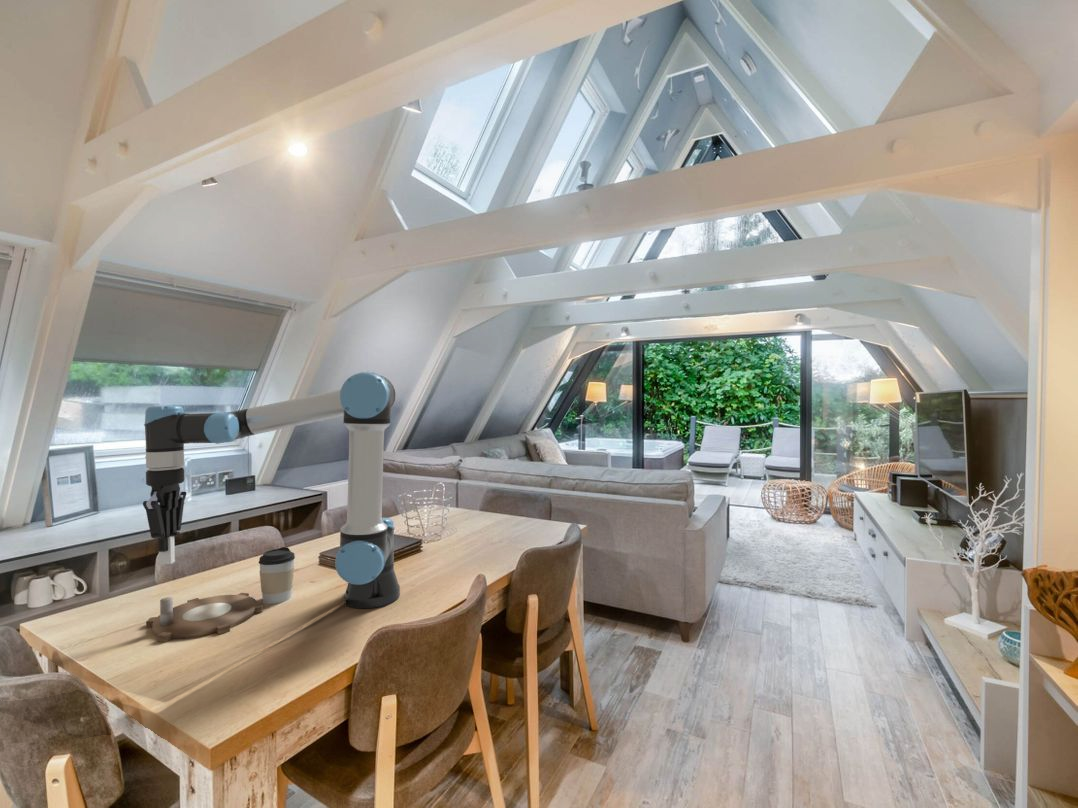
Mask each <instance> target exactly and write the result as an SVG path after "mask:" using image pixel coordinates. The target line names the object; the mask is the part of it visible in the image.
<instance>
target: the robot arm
mask: <svg viewBox="0 0 1078 808" xmlns="http://www.w3.org/2000/svg"><path fill="white" fill-rule="evenodd" d="M340 388H341V389H336V390H332V391H327V392H322V393H316V394H313V395H307V396H304V397H298V398H293V399H288V400H284V401H279V402H273V403H269V404H263V405H260V406H255V407H249V408H244V409H238V410H234V411H227V412H211V413H210V412H205V413H204V412H202V413H185V411H184V407H183V406H181V405H159V406H158V405H157V406H155V405H154V406H153V405H151V406H148V407H147V408H146V409H145V416H144V424H143V426H144V435H145V436H144V437H145V468H147V469H148V470H146V471H145V485H147V486H148V487H151V491H150V498H149V500H144V501H143V502H142V505H143V506H142V507H143V508H144V509H145V511H146V516H147V517H146V518H147V523H148V528H149V533H150V537H151V538H152V539H155V540H158V565H172V564H174V563H175V561H176V558H175V557H176V552H175V551H176V549H175V546H176V545H175V543H176V542H175V536H179V535H180V534H181V533H180V532H181V529H182V522H183V521H182V520H183V515H184V507H185V500H186V497H187V495H188V493H187V491H182V490H181V487H180V484H182V483H184V482H185V468H184V467H183V466H184V465H185V452H184V451H185V445H186V444H216V445H217V444H224V443H226V444H227V443H232V442H234V441H235V440H240V439H244V438H246V437H250V436H255V435H259V434H263V433H264V434H265V433H268V432H273V431H279V430H283V429H289V428H292V427H296V426H301V425H307V424H311V423H316V422H320V421H326V420H330V419H334V418H341V417H343V422H342V423H343V425H344V426H345V427H346V428H347V429H348V431H349V433H348V434H349V435H348V436H349V437H348V438H349V439H348V472H347V473H348V474H347V505H346V506H347V507H346V508H347V509H346V511H347V512H346V523H344V524H343V526H341V527H340V530H339V531H340V534H339V537H340V538H339V549H338V551H337V554H336V557H335V560H334V562H335V563H334V567H335V570H336V573H337V574H338V576H339V577H340V578H341V579H342V580H343V581H344V582H345V583H347V586H346V590H345V592H344V599H345V600H344V603H345V604H346V606H348V607H351V608H354V609H373V608H379V607H383V606H387V605H388V604H389V605H390V604H391V603H393V602H396V601H397V600H398V599H399V598H400V596H401V588H400V584H399V582H398V578H397V575H396V571H395V567H394V566H395V564H394V562H395V557H394V555H395V543H394V541H395V540H394V538H395V535H394V533H395V531H394V530H395V525H394V522H395V521H394V520H393V519H392V518H391V517H382V516H383V513H382V512H383V482H384V446H385V444H384V443H385V430H386V429H387V428H388V427H389V426H390V425H391V412H392V407H393V405H394V403H395V401H396V397H397V396H396V395H397V394H396V389H395V386H394V385H393V384H392V382H391V381H390V380H389V379H388V378H386V377H385V376H383V375H380V374H378V373H375V372H370V371H367V372H366V371H365V372H363V371H361V372H358V373H355V374H353V375H351V376H350V377H348V378H347V379H345V381H344V382H343V384H342V386H341V387H340Z"/></svg>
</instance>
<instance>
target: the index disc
mask: <svg viewBox="0 0 1078 808" xmlns="http://www.w3.org/2000/svg"><path fill="white" fill-rule="evenodd" d="M173 601H174V597H172V596H168V597H163V598H161V599H160V601H159V604H160V605H159V613H160V614H159V615H158V616H152V617H149V618H148V619H147V620H146V622H145V628H151V627H152V634H153V635H154V636H156V642H161V643H167V642H168V641H171V640H183V639H184V640H185V639H193V638H200V637H206V636H209V635H214V634H217V635H222V634H224V633H228V632H231V628H234V627H236V626H239V625H241V624H243V623H244V622H246V621H248V620H250V619H251V618H252V617H253V616H254V615H255V614H258V613H259V614H261V613H263V611H264V609H265V607H264V604H265V603H258V602H257V599H255V598H254V597H252V596H250V594H249V592H240V593H238V594H221V595H215V596H209V597H203V598H198V597H196V598H192V599H188V600H186V601H187V602H185V603H182V604H179V605H177V606H173V604H174V603H173Z"/></svg>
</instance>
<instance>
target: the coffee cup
mask: <svg viewBox="0 0 1078 808" xmlns="http://www.w3.org/2000/svg"><path fill="white" fill-rule="evenodd" d="M295 555H296V554H295V553H294V552H292V551H291V549H290V548H289V547H288V546H287V547H286V546H284V547H283V546H282V547H279V548H275V549H270V550H267V551H265V552H264V553H263V554H262V555H261V556H260V557H259V561H258V564H259V578H260V579H259V580H260V591H261V597H262V602H263V603H264V604H266V605H276V604H280V603H281V604H282V603H284V602H287V601H289V600H290V599H291V598H292V593H293V592H292V589H293V582H294V573H295V559H296V556H295ZM263 603H262V604H263Z"/></svg>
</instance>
